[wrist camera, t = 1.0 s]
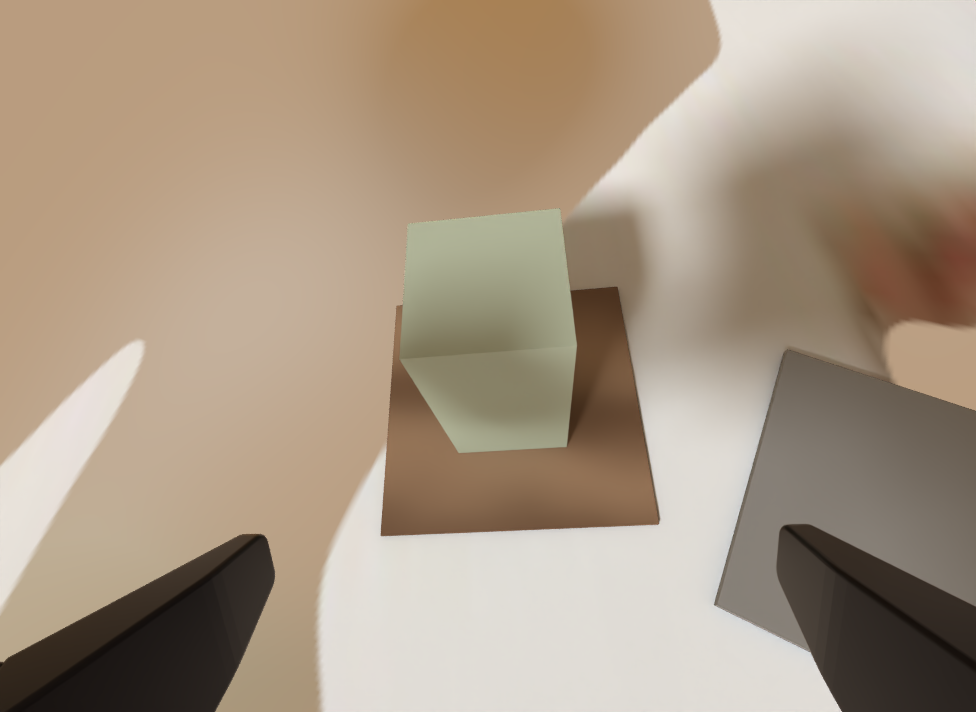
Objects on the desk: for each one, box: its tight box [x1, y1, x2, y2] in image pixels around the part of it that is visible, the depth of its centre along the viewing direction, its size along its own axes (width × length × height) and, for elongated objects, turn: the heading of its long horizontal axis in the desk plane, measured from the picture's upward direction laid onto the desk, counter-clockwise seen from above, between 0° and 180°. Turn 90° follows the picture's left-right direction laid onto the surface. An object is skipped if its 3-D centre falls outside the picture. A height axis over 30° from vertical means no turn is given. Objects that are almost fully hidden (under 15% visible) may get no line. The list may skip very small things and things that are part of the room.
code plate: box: [381, 287, 659, 536], centre depth 24 cm, size 12×12×1 cm
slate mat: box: [714, 349, 976, 652], centre depth 19 cm, size 12×12×1 cm
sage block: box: [399, 208, 577, 453], centre depth 19 cm, size 5×5×10 cm
